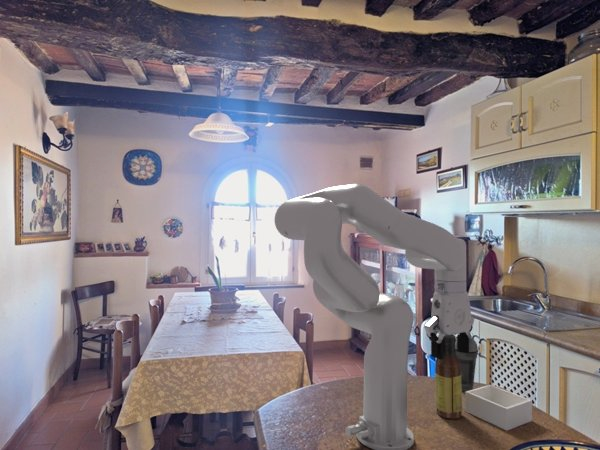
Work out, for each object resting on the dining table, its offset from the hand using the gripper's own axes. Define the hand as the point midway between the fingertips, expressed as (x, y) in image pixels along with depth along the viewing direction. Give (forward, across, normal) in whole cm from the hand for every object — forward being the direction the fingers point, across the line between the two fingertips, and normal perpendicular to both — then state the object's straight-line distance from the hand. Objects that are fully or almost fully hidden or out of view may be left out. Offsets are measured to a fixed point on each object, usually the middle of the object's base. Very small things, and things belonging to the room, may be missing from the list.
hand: (450, 354), depth 101 cm
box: (+15, +10, -6) cm, 19 cm away
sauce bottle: (+15, -1, 0) cm, 15 cm away
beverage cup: (+16, +17, +9) cm, 25 cm away
